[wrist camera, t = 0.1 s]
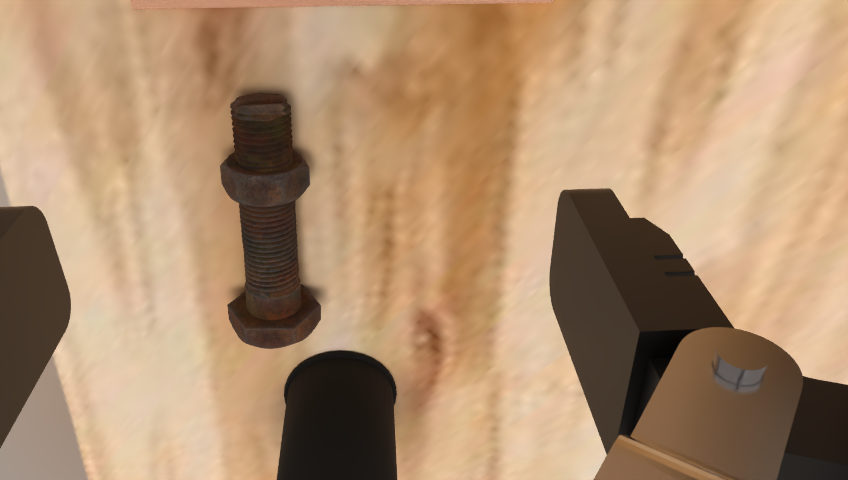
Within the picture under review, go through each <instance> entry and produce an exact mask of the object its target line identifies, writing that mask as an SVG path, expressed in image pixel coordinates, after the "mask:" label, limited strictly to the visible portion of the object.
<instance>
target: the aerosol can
mask: <svg viewBox="0 0 848 480" xmlns="http://www.w3.org/2000/svg"><path fill="white" fill-rule="evenodd" d="M396 395H397V393H396V385H395V382H394V380H393V377H392V376H391V374H390V373H389V371H388V370H387V369H386V368H385V367H384V366H383V365H382V364H380V363H379V362H377V361H376V360H374V359H372V358H370V357H367V356H365V355H362V354H358V353H354V352H343V351H339V352H328V353H324V354H320V355H317V356H314V357H312V358H309V359H307V360H306V361H304V362H303V363H301V364H300V365H299V366H298V367H297V368H296V369H294V370H293V372H292V373H291V375H290V376H289V378H288V379H287V382H286V385H285V389H284V398H285V403H286V410H285V418H284V426H283V434H282V442H281V450H280V458H279V466H278V474H277V480H397V464H396V444H395V424H394V404H395V401H396Z"/></svg>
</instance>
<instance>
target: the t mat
mask: <svg viewBox="0 0 848 480" xmlns="http://www.w3.org/2000/svg"><path fill="white" fill-rule="evenodd" d="M131 2H132V6H133V9H160V8H223V7H287V6H351V5H415V4H478V3H542V2H553V0H131Z"/></svg>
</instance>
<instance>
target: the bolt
mask: <svg viewBox="0 0 848 480" xmlns="http://www.w3.org/2000/svg"><path fill="white" fill-rule="evenodd" d="M230 108H231V109H232V110H231V114H232V117H231V118H232V120H233V122H232V125H233V126H234V127H233V128H232V129H233V132H234V133H233V137H234V141H233V142H234V143H235V145H234V148H235V153H233V154H231V155H229V157H228V158H227V159H226V160H225V161H224V162H223V163H222V164H221V166H220V170H221V180H222V185H223V187H224V188H225V190H226V192H227V194H228V195H229V196H230V198H231V199H233V200H234V201H236V202H238V203H239V208H240V218H241V228H242V230H241V231H242V238H243V240H242V241H243V248H244V262H245V272H246V273H245V277H246V283H245V292H244V293H243V294H241V295H240V296H239V297H237V298H236V299H235V300H233V301H232V302H231V303H229V304H228V314H229V320H230V322H231V324H232V327H233V328H234V330H235V332H236V333H237V335H238V337H239V338H240V339H241V340H242V341H243V342H244V343H246V344H249V345H252V346H256V347H260V348H267V349H274V348H281V347H285V346H288V345H291V344H295V343H297V342H300V341H302V340H304V339H305V338H306V337H308V336H309V335H310V334H311V333H312V331H313V330H314V329H315V327H316V326H317V324H318V323H319V321H320V320H321V305H320V304H319V303H318V302H317V301H316V300H315V298H314V297H313V296H312V295H311V294H310V293H309V292H308V291H307V290H306V288H305V287H304V286H303V285H302V284H300V279H299V277H298V258H297V234H296V214H295V200H296V199H298V198H299V197H300V196H301V195H302V194H303V193H304V192H305V190H306V189H307V188H308V187H309V185H310V175H309V166H308V165H307V163H306V161H305V160H304V159H303V157H302V156H301V155H300V154H298V153H297V152H295V151H294V150H292V149H293V147H292V140H291V139H292V135H291V132H292V130H291V126H292V125H291V117H290V116H291V112H290V110H291V106H290V105H289V104H288V103H287V100H286V99H285V98H284V97H283V96H280V95H278V94H251V95H246V96H241V97H238V98H236V100H235V101H234V102H233V103H232V104H231V105H230Z"/></svg>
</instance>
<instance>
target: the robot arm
mask: <svg viewBox="0 0 848 480" xmlns="http://www.w3.org/2000/svg"><path fill="white" fill-rule="evenodd" d="M550 296H551V302H552V307H553V310H554V313H555V316H556V318H557V321H558V324H559V326H560V329H561V332H562V335H563V337H564V340H565V343H566V345H567V348H568V351H569V354H570V356H571V359H572V362H573V364H574V367H575V370H576V372H577V375H578V378H579V381H580V383H581V386H582V389H583V391H584V394H585V397H586V400H587V402H588V405H589V408H590V410H591V413H592V416H593V418H594V421H595V424H596V427H597V429H598V432H599V435H600V437H601V440H602V443H603V446H604V448H605V451H606V454H607V456H606V458H605V460H604V462H603V464H602V465H601V467H600V469H599V471H598V473H597V474H596V476H595V478H594V480H848V385H845V384H839V383H833V382H828V381H822V380H817V379H812V378H808V377H804V376H802V373H801V370H800V368H799V366H798V365H797V363H796V362H795V360H794V359H793V358H792V357H791V356H790V355H789V354H788V353H787V352H786V351H784V350H783V349H782V348H781V347H779V346H777V345H776V344H774V343H773V342H771V341H769V340H767V339H765V338H763V337H761V336H758V335H756V334H753V333H750V332H747V331H743V330H739V329H734V327H733V326H732V324H731V323H730V321H729V320H728V319H727V317H726V316H725V314H724V313H723V311H722V310H721V308H720V307H719V306H718V304H717V303H716V301H715V300H714V298H713V297H712V296H711V294H710V293H709V291H708V290H707V288H706V287H705V285H704V284H703V283H702V281H701V280H700V278H699V277H698V275H695V274H694V270H693V268H692V267H691V265H690V264H689V262H688V261H687V260H686V259H683V254H682V252H681V251H680V250H679V248H678V247H677V245H676V244H675V242H674V241H673V239H672V238H671V237H670V235H669V234H667V233H666V232H665V231H663V230H662V229H660V228H659V227H657V226H656V225H654V224H653V223H651V222H650V221H648V220H647V219H645V218H629V216H628V214H627V213H626V211H625V210H624V208H623V206H622V205H621V203H620V202H619V200H618V199H617V197H616V195H615V194H614V192H613V191H612V190H611V189H577V190H563V191H562V192H561V194H560V197H559V201H558V206H557V215H556V223H555V232H554V240H553V249H552V257H551V266H550ZM70 312H71V300H70V293H69V289H68V285H67V282H66V279H65V276H64V273H63V270H62V267H61V264H60V261H59V258H58V255H57V252H56V249H55V245H54V242H53V239H52V236H51V233H50V230H49V227H48V224H47V221H46V219H45V217H44V215H43V213H42V212H41V211H40V210H39V209H38V208H37V207H34V206H19V207H0V448H1V446H2V444H3V442H4V440H5V439H6V437H7V435H8V433H9V432H10V430H11V428H12V426H13V424H14V423H15V421H16V419H17V417H18V415H19V414H20V412H21V410H22V408H23V406H24V405H25V403H26V401H27V399H28V397H29V396H30V394H31V392H32V390H33V388H34V387H35V385H36V383H37V381H38V379H39V378H40V375H41V374H42V372H43V370H44V369H45V367H46V365H47V363H48V361H49V360H50V358H51V356H52V354H53V352H54V351H55V349H56V347H57V345H58V343H59V342H60V340H61V338H62V336H63V334H64V333H65V331H66V329H67V326H68V323H69V319H70Z"/></svg>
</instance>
